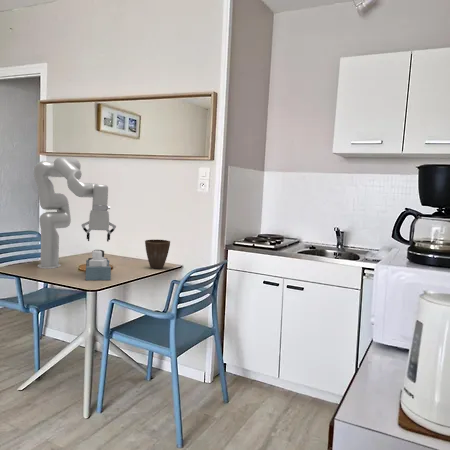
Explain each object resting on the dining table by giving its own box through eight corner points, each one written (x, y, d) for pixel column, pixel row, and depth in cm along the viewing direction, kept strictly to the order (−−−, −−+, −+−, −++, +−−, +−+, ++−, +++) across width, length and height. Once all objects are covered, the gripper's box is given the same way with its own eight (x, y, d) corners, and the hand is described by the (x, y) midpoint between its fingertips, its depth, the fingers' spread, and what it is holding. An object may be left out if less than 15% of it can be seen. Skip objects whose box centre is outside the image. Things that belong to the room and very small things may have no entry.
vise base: (86, 270, 235) (86, 258, 235) (108, 270, 239) (108, 258, 238) (85, 280, 211) (85, 267, 211) (110, 280, 215) (110, 267, 214)
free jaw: (86, 268, 232) (86, 257, 232) (108, 268, 236) (109, 257, 235) (86, 269, 229) (86, 258, 228) (109, 269, 233) (109, 258, 232)
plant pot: (157, 271, 244) (158, 243, 242) (138, 267, 252) (139, 240, 250) (174, 267, 256) (175, 241, 255) (155, 264, 264) (156, 238, 263)
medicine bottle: (93, 271, 227) (93, 248, 226) (106, 271, 227) (107, 249, 226) (88, 273, 220) (89, 250, 219) (102, 274, 220) (102, 251, 219)
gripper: (116, 208, 227) (114, 240, 228) (82, 206, 222) (80, 239, 223) (117, 209, 220) (115, 242, 221) (82, 208, 214) (80, 241, 216)
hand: (98, 240), depth 222 cm, fingers open, 9 cm apart
